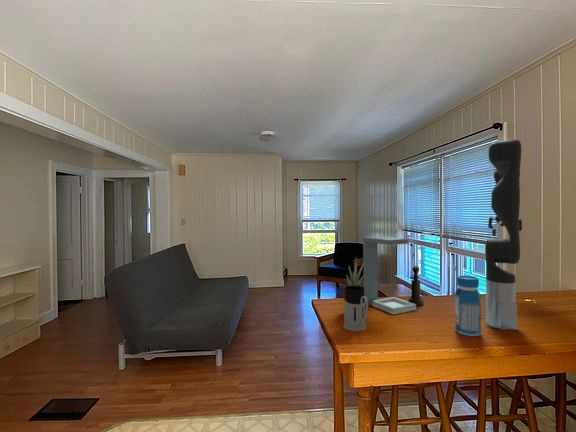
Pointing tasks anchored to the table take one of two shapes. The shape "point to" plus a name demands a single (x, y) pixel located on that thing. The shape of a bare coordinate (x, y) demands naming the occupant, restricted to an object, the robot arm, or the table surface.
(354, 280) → the potted plant
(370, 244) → the overhang shelf
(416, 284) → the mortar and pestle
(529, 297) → the table surface
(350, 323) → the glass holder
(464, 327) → the beverage bottle
